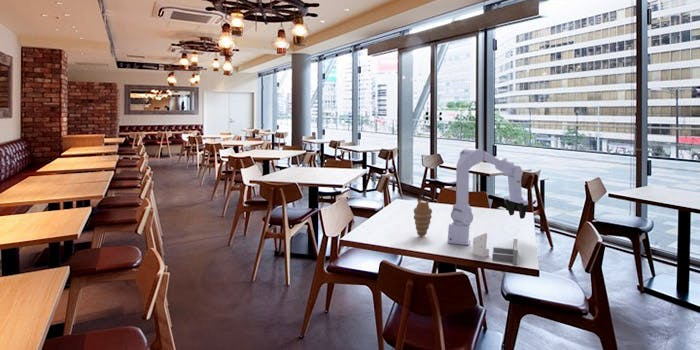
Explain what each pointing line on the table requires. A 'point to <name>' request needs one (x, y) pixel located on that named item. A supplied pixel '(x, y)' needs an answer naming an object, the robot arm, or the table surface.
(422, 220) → the cat ice cream
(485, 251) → the white wedge bracket
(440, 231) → the table surface
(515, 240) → the socket bay
